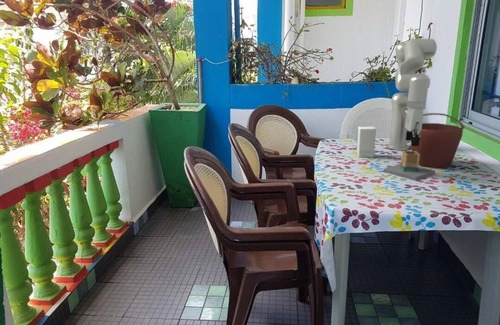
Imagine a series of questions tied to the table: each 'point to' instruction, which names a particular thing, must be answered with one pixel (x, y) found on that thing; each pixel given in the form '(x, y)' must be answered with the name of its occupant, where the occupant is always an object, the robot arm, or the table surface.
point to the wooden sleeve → (410, 161)
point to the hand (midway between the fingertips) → (411, 143)
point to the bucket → (438, 143)
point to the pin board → (407, 174)
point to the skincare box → (366, 141)
